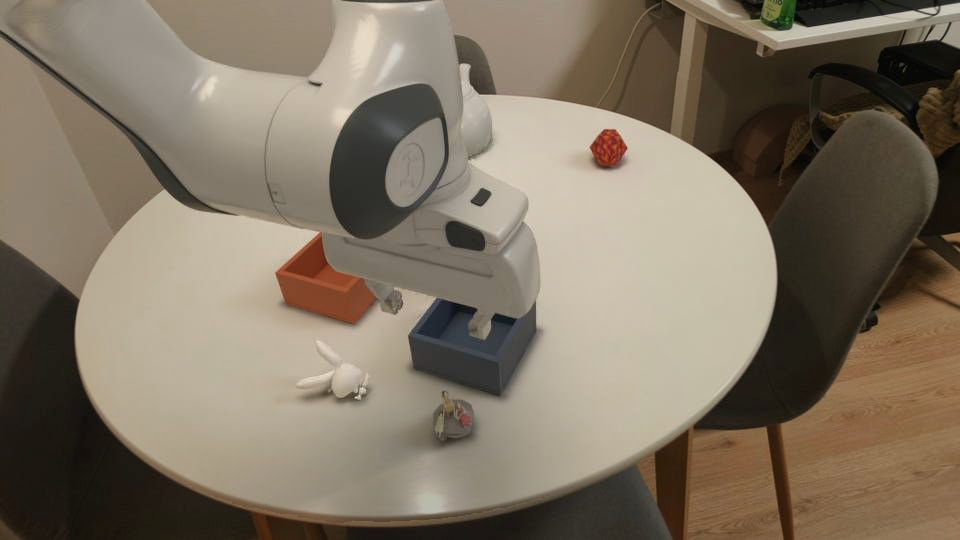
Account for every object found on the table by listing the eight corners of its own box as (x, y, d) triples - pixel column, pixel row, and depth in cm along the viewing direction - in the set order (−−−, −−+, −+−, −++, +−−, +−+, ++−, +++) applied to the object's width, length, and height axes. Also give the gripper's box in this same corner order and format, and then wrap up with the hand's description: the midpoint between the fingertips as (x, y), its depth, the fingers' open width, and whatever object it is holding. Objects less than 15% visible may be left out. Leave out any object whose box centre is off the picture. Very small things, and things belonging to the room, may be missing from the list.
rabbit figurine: (353, 416, 71) (289, 385, 71) (355, 414, 75) (294, 385, 74) (377, 368, 73) (315, 338, 72) (377, 368, 76) (318, 339, 76)
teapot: (389, 137, 127) (378, 71, 119) (471, 116, 133) (467, 51, 124) (422, 176, 114) (412, 105, 105) (512, 151, 119) (510, 82, 111)
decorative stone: (590, 177, 114) (594, 143, 118) (628, 175, 112) (630, 140, 116) (585, 155, 109) (589, 120, 113) (624, 153, 107) (627, 117, 110)
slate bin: (500, 396, 72) (498, 362, 69) (413, 368, 76) (407, 335, 73) (536, 330, 80) (536, 297, 77) (455, 309, 85) (452, 277, 81)
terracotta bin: (354, 324, 83) (346, 292, 80) (285, 303, 88) (274, 272, 84) (398, 273, 92) (393, 242, 88) (333, 257, 96) (325, 226, 92)
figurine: (455, 404, 72) (450, 368, 68) (485, 423, 69) (482, 387, 66) (423, 435, 69) (417, 399, 65) (454, 456, 66) (449, 419, 62)
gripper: (290, 194, 52) (326, 316, 61) (517, 243, 45) (521, 373, 54) (334, 159, 57) (361, 277, 65) (547, 198, 49) (547, 325, 58)
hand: (435, 321), depth 59 cm, fingers open, 8 cm apart
